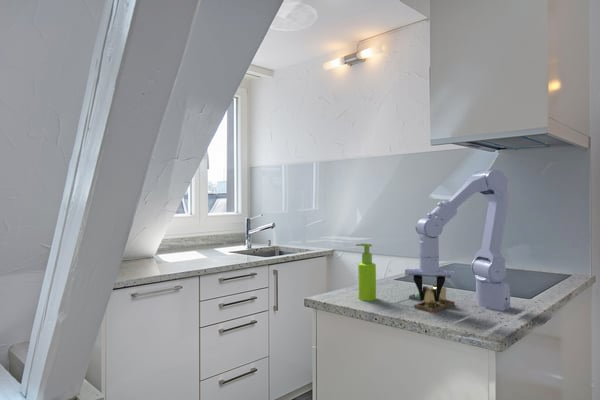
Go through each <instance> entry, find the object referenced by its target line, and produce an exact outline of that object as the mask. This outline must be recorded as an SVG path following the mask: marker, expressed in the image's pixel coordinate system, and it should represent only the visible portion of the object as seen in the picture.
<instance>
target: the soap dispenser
mask: <svg viewBox="0 0 600 400" xmlns="http://www.w3.org/2000/svg"><path fill="white" fill-rule="evenodd" d="M355 245H356V247H359V246H361V247H364V250H363V251H364V252H362V253H361V262H360V263H358V264H357V265H358V269H357V271H358V300H360V301H364V302H371V301H372V302H373V301H376V300H377V272H376V271H377V270H376V269H377V267H376V266H377V265H376V263H375V262H373V254H372V253H371V252H370V247H372V246H373V244H370V243H359V244H355Z"/></svg>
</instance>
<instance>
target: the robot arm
mask: <svg viewBox="0 0 600 400" xmlns="http://www.w3.org/2000/svg"><path fill="white" fill-rule="evenodd" d="M508 181H509V178H508V176H506V174H505V173H504V172H503V171H502V170H500V169H492V170H486V171H485V170H484V171H476V172H474V173H473V174H471V176H469V177H468V178H467V180H466V181H465V183H464V184H463V185H462V186H461V187H460V188H459V189H458V190H457V191H456V192H455V193H454V194H453V196H451V198H449V200H442V201H438V203H436V207H435V208H434V209H433V210H431V212H428V213H427V214H426V217H423V218H420V219H419V220H418V222H417V223H416V226H415V231H416V234H418V240H419V242H418V244H419V245H418V247H419V248H418V250H419V255H418V256H419V268H409V269H408V268H405V269H404V276H405V277H413V279H412V280H413V281H414V283H415V285H416V288H417V291H418V292H419V294H420V300H423V278H425V277H426V278H436V285H437V293H436V301H437V302H439V295H440V292H441V289H442V287H444V284H445V283H446V278H447V279H453V280H454V279H455V271H454V270H442V269H440V262H439V261H440V257H439V255H440V253H439V249H440V247H439V245H440V244H439V241H440V240H439V236H441V234H442V233H443V228H444V226H446V225H447V224H448V223H449V222H450V221H451V220H453V218H454V217H455V216H456V215H457V214H458V208H459V207H460V206H461V205H463V203H465V202H466V201H468V199H470V198H471V197H472V196H473V195H474V194H476V193H479V194H481V195H483V196H484V197H485V198H486V199H487V201H488V205H487V206H488V207H487V213H486V219H485V225H484V230H483V236H482V242H481V243H482V244H481V248H480V249H479V250H478V251H477V252H476V253H475V256H474V259H473V261H472V262H471V264H470V271H471V272H472V274H473V275H474V279H475V304H476V305H477V306H479V307H484V308H485V309H488V310H489V309H490V310H494V311H499V312H505V311H506V310H509V309H510V308H511V287H510V284H509V283H507V282H503V280H504V279H505V277H506V275H507V268H506V258H505V257H504V256H503V254H502V253H501V249H502V243H503V236H504V230H505V224H506V217H507V212H508V207H509V201H510V197H509V196H510V195H509V192H508Z"/></svg>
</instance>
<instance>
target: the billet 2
mask: <svg viewBox="0 0 600 400" xmlns="http://www.w3.org/2000/svg"><path fill="white" fill-rule="evenodd" d="M432 288H435V289H436V293H437V283H434V284H433V286H432ZM446 300H447V287H446V286H443V287H442V289H441V292H440V295H439V302H437V301H436V303H438V304H446Z"/></svg>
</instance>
